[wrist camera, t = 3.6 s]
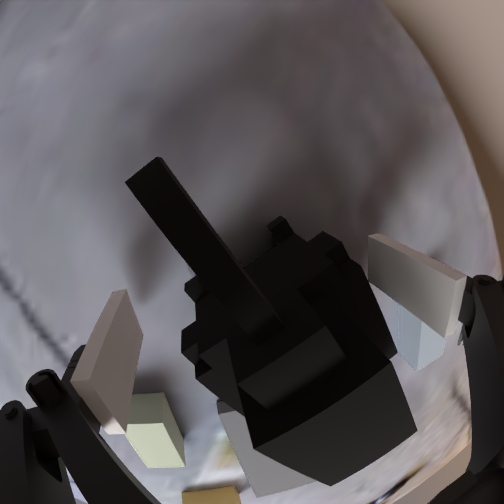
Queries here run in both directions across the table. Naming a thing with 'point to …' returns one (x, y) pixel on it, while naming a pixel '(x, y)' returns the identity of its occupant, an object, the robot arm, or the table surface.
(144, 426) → the sage brick
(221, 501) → the mustard brick
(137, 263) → the table surface
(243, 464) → the felt pad
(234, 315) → the toy
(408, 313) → the dusty blue brick
